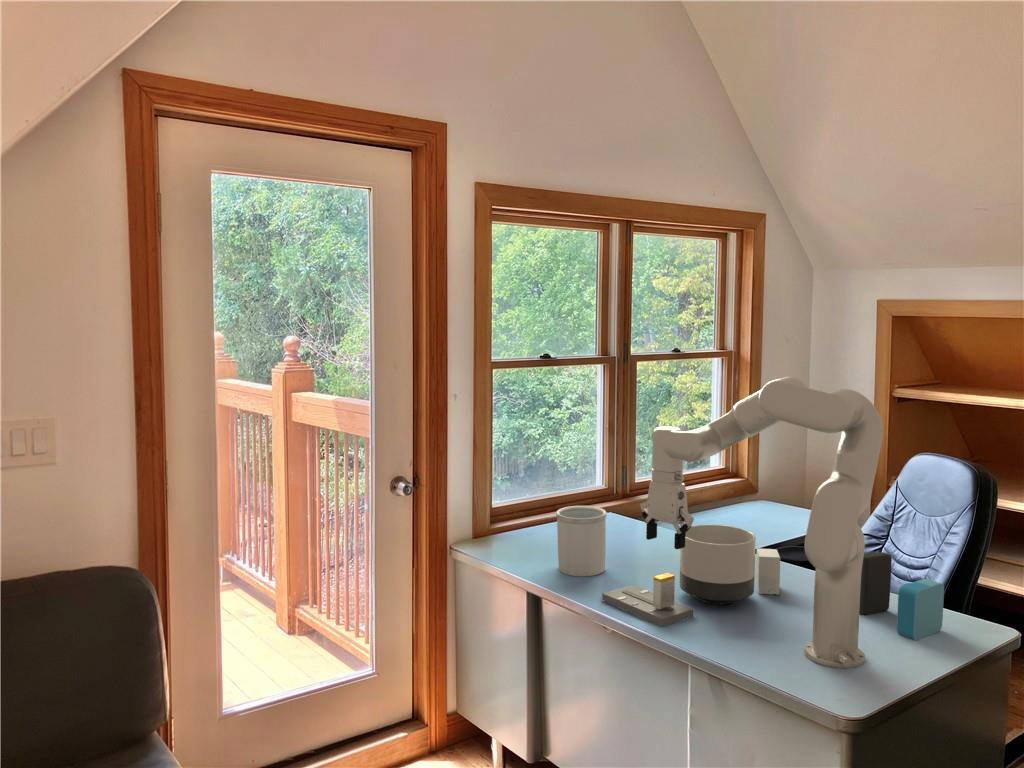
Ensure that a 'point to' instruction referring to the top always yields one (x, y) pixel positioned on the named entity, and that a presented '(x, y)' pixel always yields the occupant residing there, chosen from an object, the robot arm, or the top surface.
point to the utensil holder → (581, 540)
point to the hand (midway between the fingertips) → (665, 543)
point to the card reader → (875, 583)
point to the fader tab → (663, 590)
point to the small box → (768, 571)
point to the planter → (718, 563)
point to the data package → (920, 609)
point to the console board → (646, 605)
